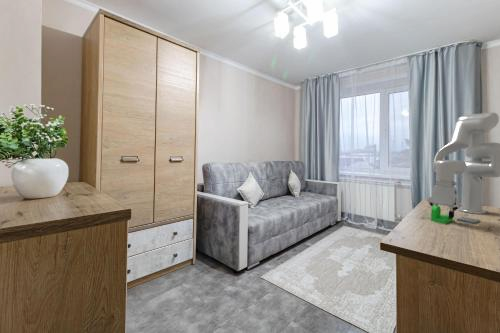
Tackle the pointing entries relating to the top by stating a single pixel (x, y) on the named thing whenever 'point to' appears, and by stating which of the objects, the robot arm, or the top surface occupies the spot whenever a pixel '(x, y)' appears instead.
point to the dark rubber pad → (468, 220)
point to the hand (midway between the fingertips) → (442, 216)
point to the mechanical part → (439, 216)
